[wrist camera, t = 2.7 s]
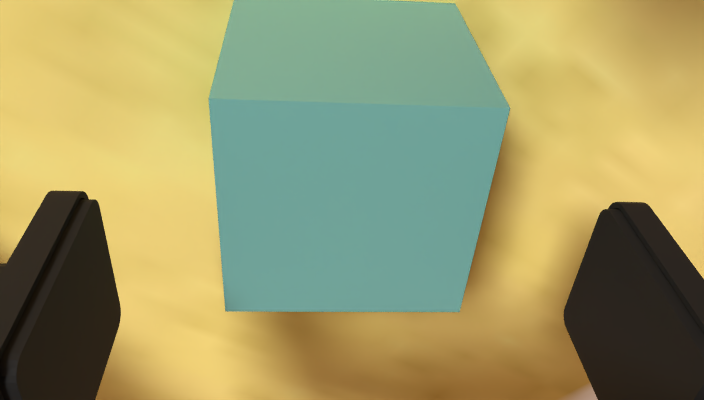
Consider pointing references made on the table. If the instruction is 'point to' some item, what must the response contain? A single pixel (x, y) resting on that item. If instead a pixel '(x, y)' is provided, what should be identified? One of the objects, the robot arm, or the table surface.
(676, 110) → the table surface
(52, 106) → the table surface
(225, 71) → the teal block
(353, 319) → the table surface
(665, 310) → the robot arm
